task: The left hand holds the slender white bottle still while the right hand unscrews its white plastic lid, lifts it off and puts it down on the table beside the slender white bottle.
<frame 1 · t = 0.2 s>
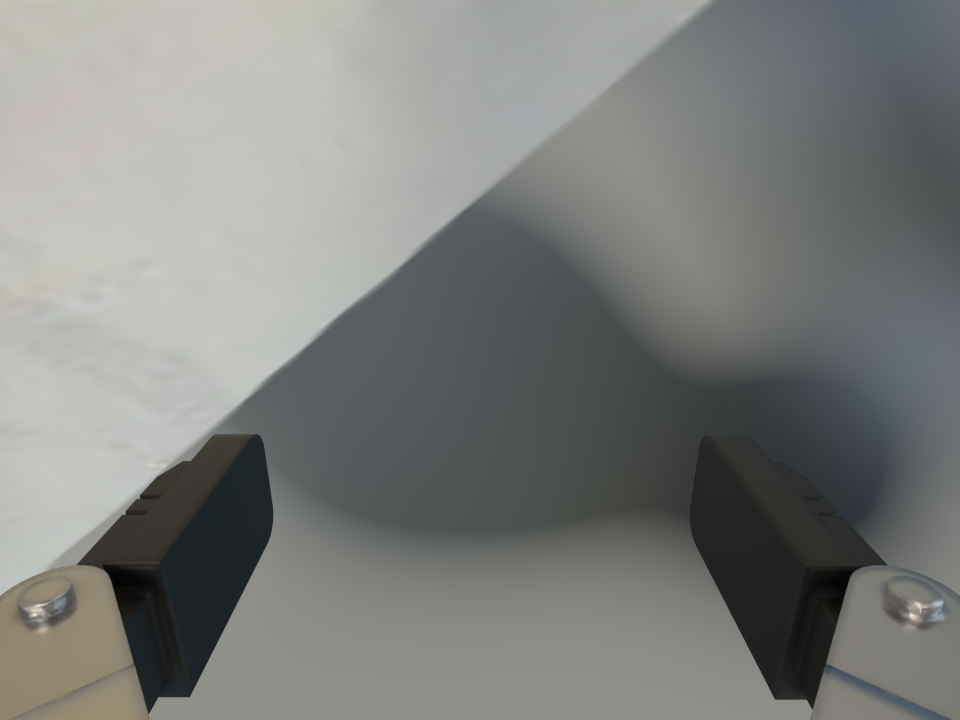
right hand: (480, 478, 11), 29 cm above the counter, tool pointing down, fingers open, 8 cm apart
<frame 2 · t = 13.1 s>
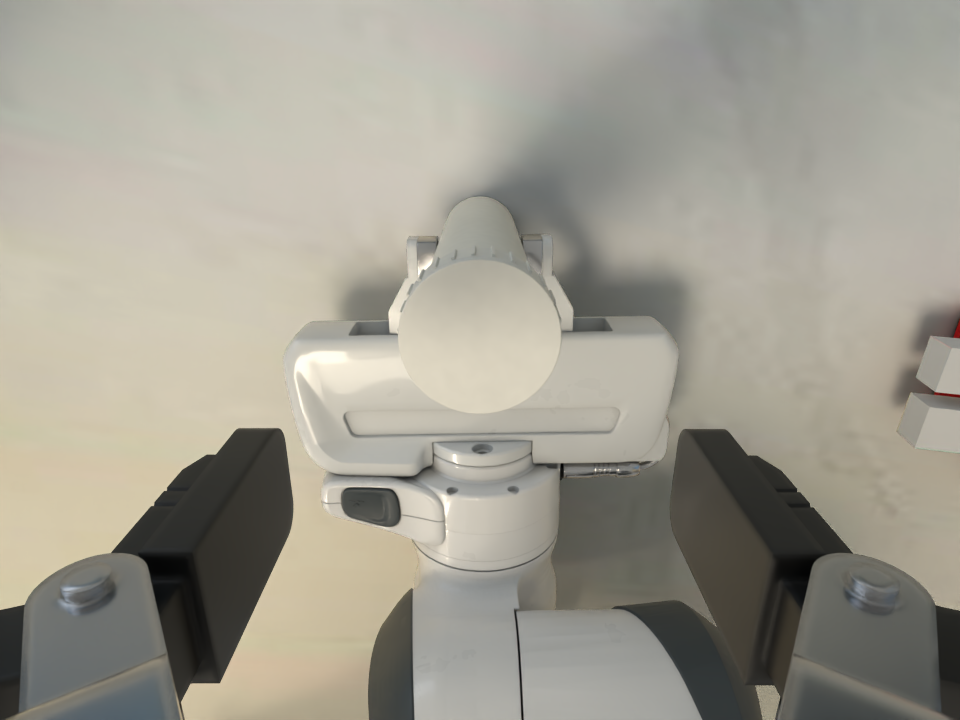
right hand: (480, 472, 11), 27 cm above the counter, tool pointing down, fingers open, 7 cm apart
left hand: (478, 236, 30), fingers closed on slender white bottle, 4 cm apart
slender white bottle: (479, 232, 36), on the counter, touching left hand
lid: (479, 336, 19), point 19 cm above the counter, screwed on, not yet turned
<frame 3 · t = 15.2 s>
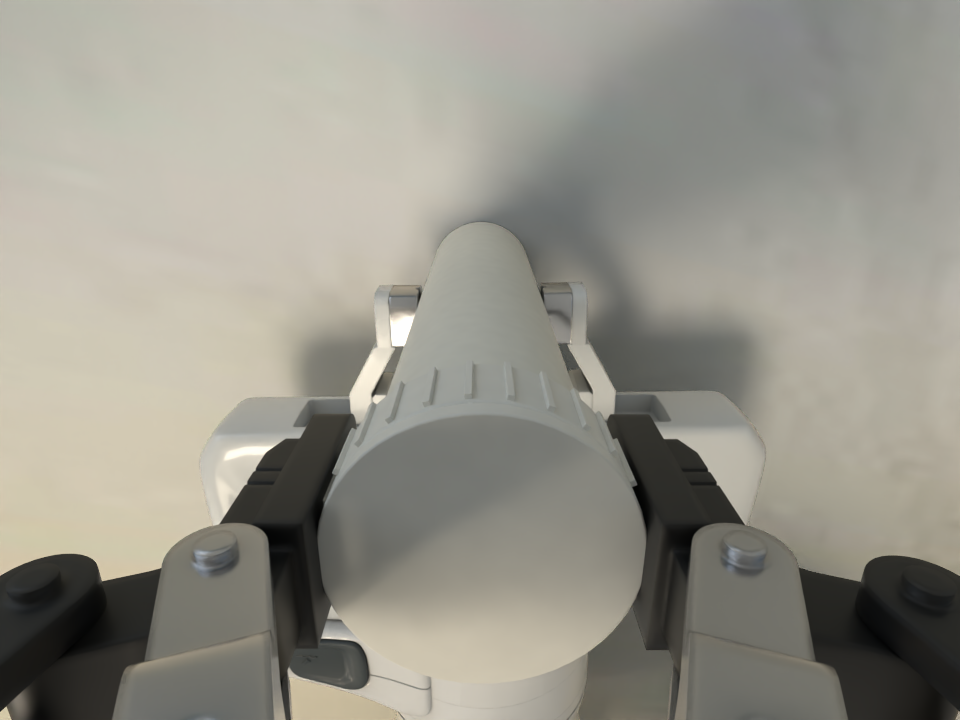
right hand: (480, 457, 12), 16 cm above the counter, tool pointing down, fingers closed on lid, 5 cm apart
slender white bottle: (480, 270, 27), on the counter, touching left hand
lid: (481, 547, 9), point 19 cm above the counter, screwed on, not yet turned, touching right hand
when the right hand's fingers open (17 cm above the counter, at t = 17.0 s): lid stays where it is, point 19 cm above the counter.
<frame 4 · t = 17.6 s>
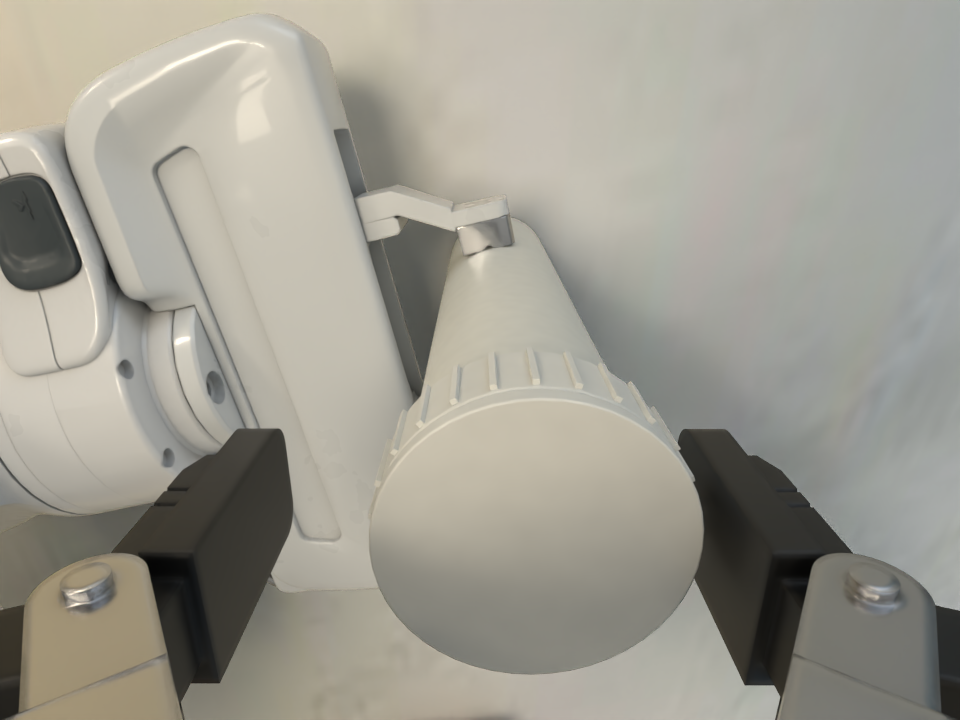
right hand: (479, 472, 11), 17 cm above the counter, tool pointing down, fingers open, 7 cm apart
left hand: (527, 296, 21), fingers closed on slender white bottle, 4 cm apart
slender white bottle: (497, 263, 27), on the counter, touching left hand
lid: (534, 535, 9), point 19 cm above the counter, turned 102° so far, risen 0.3 cm, still on its thread
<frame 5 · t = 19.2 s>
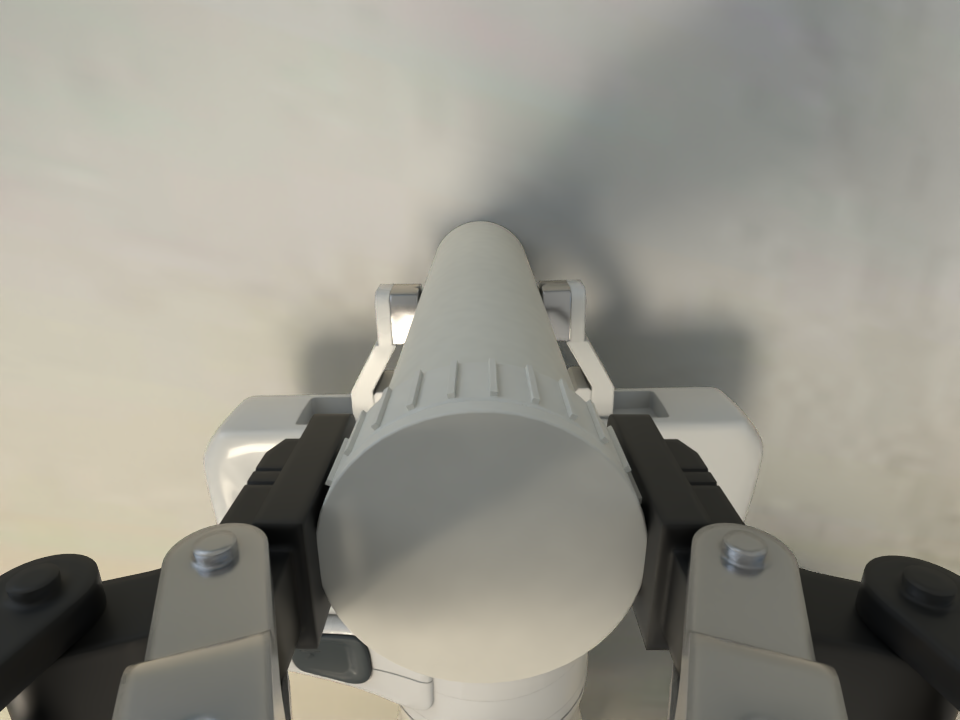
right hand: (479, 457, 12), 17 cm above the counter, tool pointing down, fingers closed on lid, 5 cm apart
slender white bottle: (480, 268, 27), on the counter, touching left hand
lid: (481, 545, 9), point 19 cm above the counter, turned 102° so far, risen 0.3 cm, still on its thread, touching right hand
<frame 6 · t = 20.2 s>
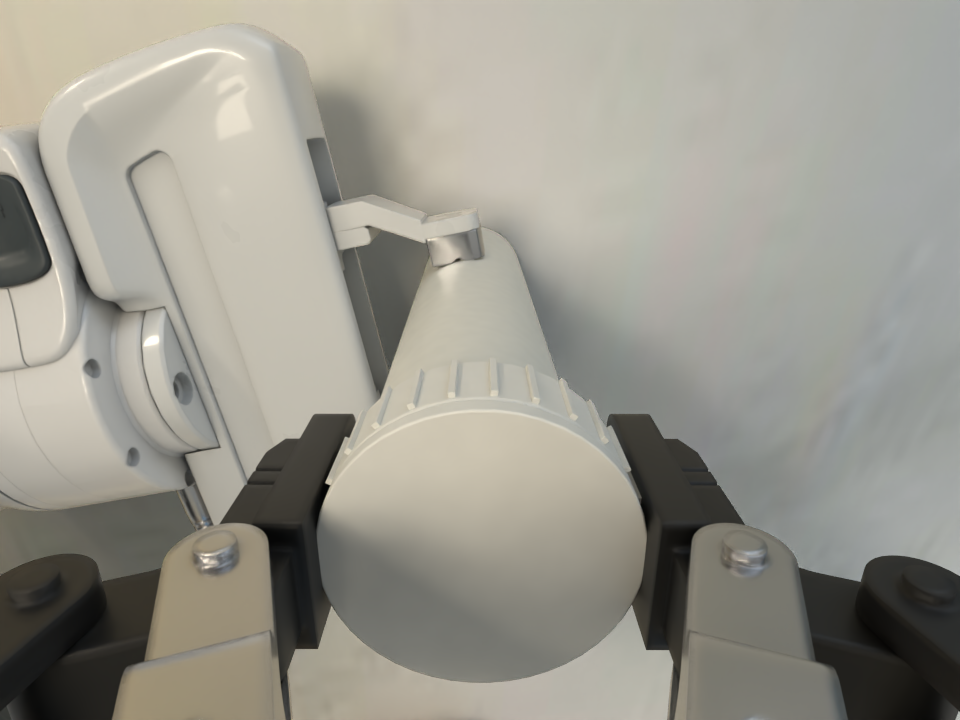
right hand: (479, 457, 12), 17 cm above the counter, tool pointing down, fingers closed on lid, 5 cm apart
slender white bottle: (473, 273, 28), on the counter, touching left hand
lid: (481, 545, 9), point 20 cm above the counter, off its thread, touching right hand
when the right hand's fingers open (0 cm above the counter, at t = 27.1 s): lid drops 2 cm, point 2 cm above the counter.
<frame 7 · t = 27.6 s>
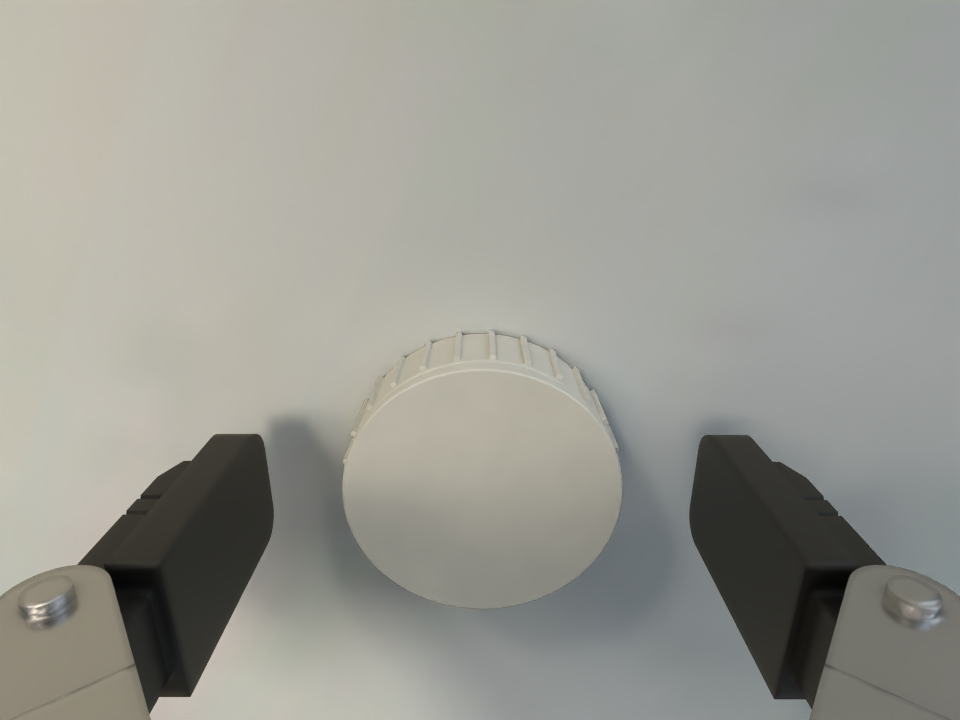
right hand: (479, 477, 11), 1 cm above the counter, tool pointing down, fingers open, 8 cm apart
lid: (482, 488, 11), point 2 cm above the counter, off its thread
when the left hand's fingers open (7 cm above the counter, at t = 28.2 s): slender white bottle stays where it is, on the counter.
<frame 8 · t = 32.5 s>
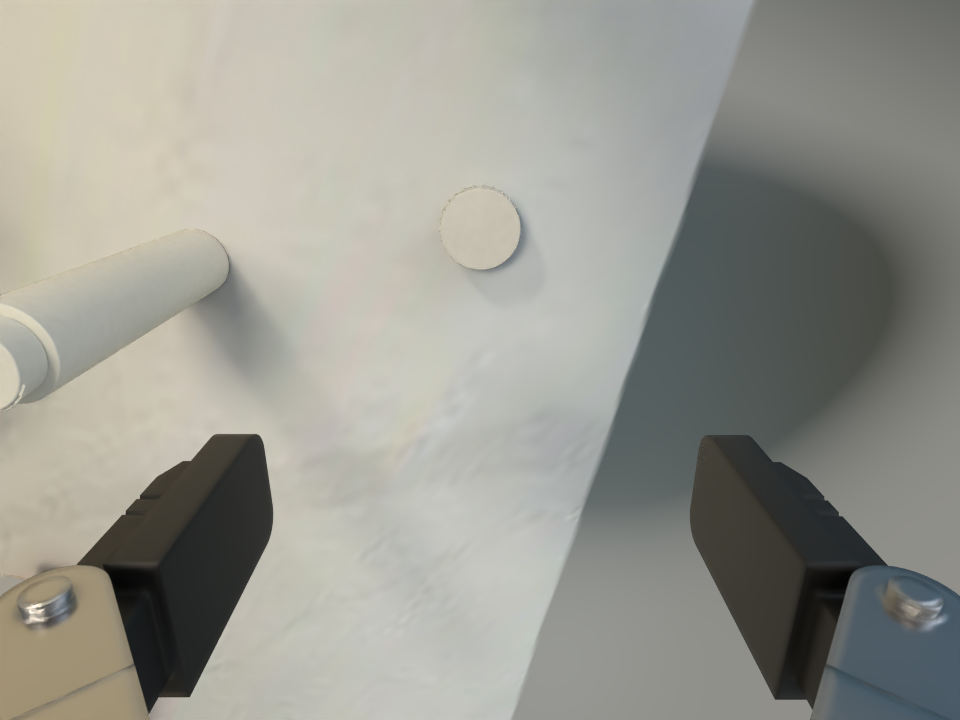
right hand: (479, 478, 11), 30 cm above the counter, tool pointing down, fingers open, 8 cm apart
slender white bottle: (196, 261, 40), on the counter
lid: (480, 229, 38), point 2 cm above the counter, off its thread
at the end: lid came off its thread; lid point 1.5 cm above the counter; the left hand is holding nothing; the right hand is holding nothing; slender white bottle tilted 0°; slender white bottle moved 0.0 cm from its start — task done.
